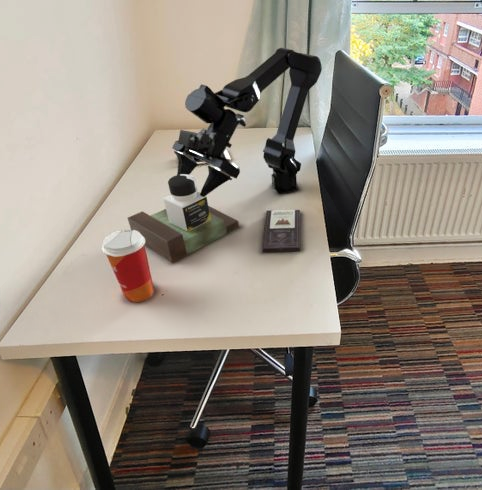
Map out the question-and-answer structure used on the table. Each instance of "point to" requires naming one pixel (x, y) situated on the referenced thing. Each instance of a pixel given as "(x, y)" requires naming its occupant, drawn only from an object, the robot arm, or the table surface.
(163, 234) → the step shelf
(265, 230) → the chocolate bar
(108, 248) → the paper cup
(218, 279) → the table surface
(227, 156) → the cell phone
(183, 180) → the medicine bottle
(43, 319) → the table surface
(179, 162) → the robot arm
